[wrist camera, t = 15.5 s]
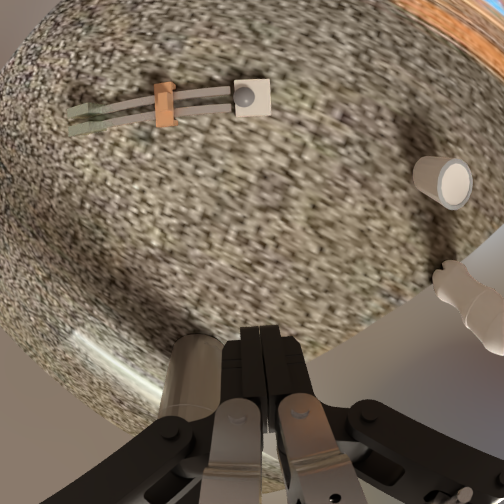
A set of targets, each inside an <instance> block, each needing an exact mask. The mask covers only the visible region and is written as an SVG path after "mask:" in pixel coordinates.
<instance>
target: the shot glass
mask: <svg viewBox="0 0 504 504" xmlns="http://www.w3.org/2000/svg"><path fill="white" fill-rule="evenodd" d="M413 181H414V185H415V186H416V188H417V189H418V190H419V191H421V192H422V193H424V194H426V195H427V196H429V197H430V198H432V199H434V200H435V201H437V202H438V203H440V204H441V205H443V206H444V207H446V208H447V209H449V210H457V209H459V208H461V207H463V206H464V204H465V203H466V202H467V201H468V199H469V197H470V194H471V192H472V183H473V180H472V174H471V171H470V169H469V167H468V165H467V164H466V163H465V162H464V161H463V160H461V159H456V158H446V157H434V156H424V157H422V158H420V159H419V160H418V161H417V162H416V164H415V166H414V169H413Z"/></svg>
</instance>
